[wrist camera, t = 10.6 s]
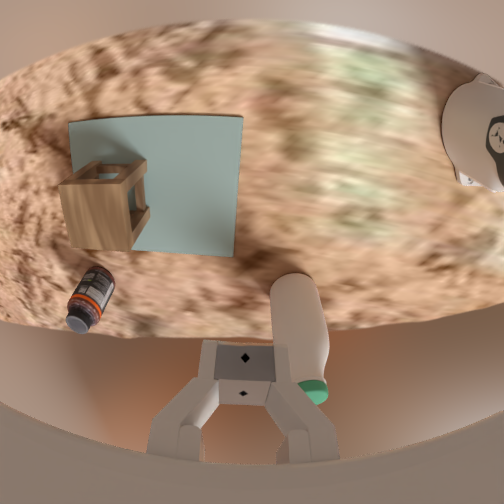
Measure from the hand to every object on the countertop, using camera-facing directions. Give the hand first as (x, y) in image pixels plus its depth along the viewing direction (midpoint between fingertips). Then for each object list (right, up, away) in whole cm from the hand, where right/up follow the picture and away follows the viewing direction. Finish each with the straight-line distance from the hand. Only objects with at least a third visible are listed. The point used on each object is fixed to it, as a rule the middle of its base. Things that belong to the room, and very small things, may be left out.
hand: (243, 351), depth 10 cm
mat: (-14, +12, +27) cm, 32 cm away
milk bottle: (+7, -2, +37) cm, 38 cm away
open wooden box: (-14, +10, +23) cm, 28 cm away
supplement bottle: (-26, -1, +36) cm, 44 cm away
